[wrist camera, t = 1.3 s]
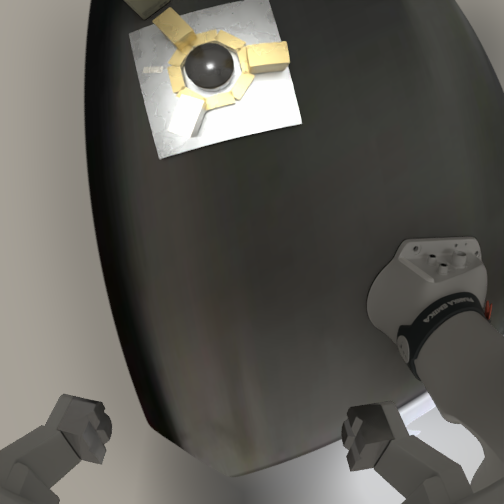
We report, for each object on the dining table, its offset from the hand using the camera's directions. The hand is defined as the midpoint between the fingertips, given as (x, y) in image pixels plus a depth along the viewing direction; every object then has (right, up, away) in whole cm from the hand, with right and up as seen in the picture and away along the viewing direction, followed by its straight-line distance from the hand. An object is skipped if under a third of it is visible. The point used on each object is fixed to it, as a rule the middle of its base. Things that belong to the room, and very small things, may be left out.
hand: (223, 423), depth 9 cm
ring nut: (-2, +26, +21) cm, 34 cm away
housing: (-4, +26, +23) cm, 36 cm away
